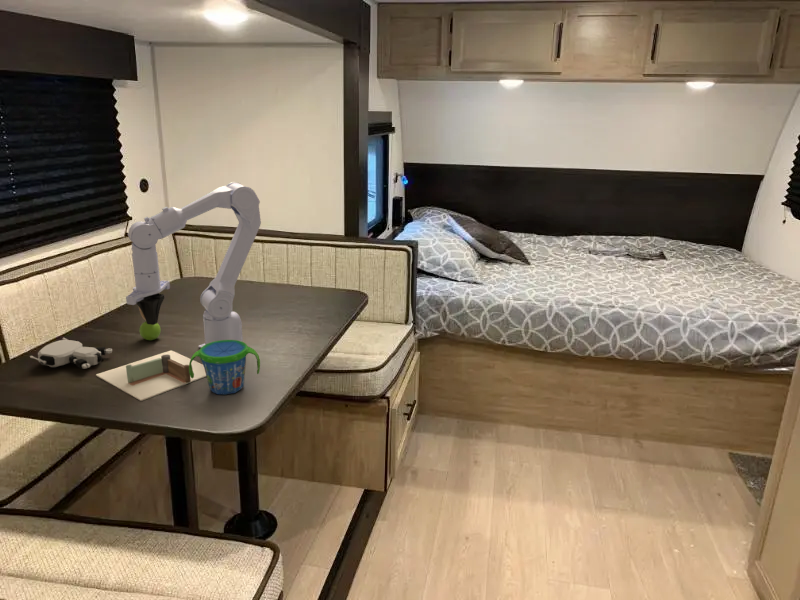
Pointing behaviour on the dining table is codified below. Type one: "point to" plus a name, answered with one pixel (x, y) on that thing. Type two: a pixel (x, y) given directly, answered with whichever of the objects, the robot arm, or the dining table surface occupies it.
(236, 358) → the snack cup
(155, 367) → the fence gate
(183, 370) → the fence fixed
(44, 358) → the robot toy
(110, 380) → the card
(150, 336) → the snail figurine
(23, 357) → the dining table surface
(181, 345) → the dining table surface
